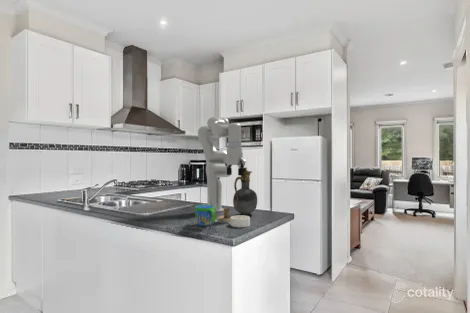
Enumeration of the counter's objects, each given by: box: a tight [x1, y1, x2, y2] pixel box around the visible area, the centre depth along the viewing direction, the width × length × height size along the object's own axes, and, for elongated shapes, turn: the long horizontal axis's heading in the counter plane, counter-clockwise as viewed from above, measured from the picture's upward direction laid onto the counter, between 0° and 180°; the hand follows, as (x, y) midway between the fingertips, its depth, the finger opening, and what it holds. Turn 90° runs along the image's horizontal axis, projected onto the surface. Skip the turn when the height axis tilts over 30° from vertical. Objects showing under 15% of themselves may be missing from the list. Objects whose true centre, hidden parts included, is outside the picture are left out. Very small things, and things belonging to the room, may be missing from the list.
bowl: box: [229, 214, 251, 228], centre depth 155 cm, size 10×10×4 cm
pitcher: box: [232, 166, 258, 217], centre depth 178 cm, size 11×19×30 cm, turn 145°
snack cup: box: [194, 204, 217, 227], centre depth 156 cm, size 16×10×10 cm
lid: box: [216, 207, 233, 223], centre depth 167 cm, size 11×11×6 cm
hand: (234, 175), depth 168 cm, fingers open, 9 cm apart
